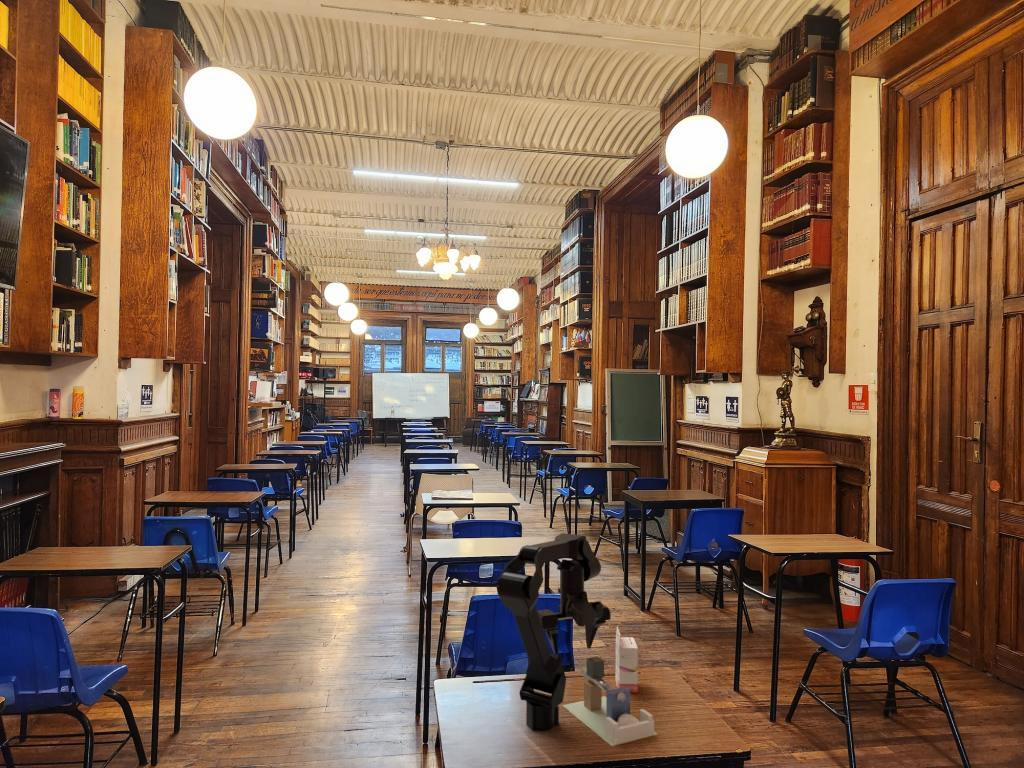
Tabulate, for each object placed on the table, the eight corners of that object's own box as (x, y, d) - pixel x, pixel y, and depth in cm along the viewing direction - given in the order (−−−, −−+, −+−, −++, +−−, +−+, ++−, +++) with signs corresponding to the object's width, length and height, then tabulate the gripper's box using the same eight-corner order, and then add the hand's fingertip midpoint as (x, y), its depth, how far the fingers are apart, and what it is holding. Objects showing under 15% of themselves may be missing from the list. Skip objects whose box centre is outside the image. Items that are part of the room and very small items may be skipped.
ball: (613, 712, 147) (613, 731, 146) (623, 719, 143) (624, 739, 143) (628, 709, 148) (628, 727, 148) (639, 716, 145) (639, 735, 144)
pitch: (611, 750, 140) (611, 718, 140) (562, 709, 159) (562, 681, 159) (657, 738, 145) (657, 707, 145) (604, 700, 164) (604, 672, 164)
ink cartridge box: (639, 695, 167) (638, 636, 167) (619, 695, 167) (619, 636, 167) (633, 681, 175) (633, 625, 176) (614, 681, 175) (614, 625, 176)
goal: (615, 744, 140) (615, 725, 140) (605, 736, 144) (605, 717, 144) (654, 735, 145) (654, 716, 145) (643, 727, 148) (643, 708, 148)
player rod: (612, 729, 146) (612, 678, 146) (575, 700, 160) (575, 654, 161) (631, 724, 148) (631, 674, 148) (593, 696, 162) (593, 650, 163)
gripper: (553, 599, 151) (553, 668, 150) (623, 590, 158) (623, 656, 158) (532, 586, 161) (532, 652, 161) (598, 579, 169) (598, 641, 168)
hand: (572, 650), depth 162 cm, fingers open, 9 cm apart
